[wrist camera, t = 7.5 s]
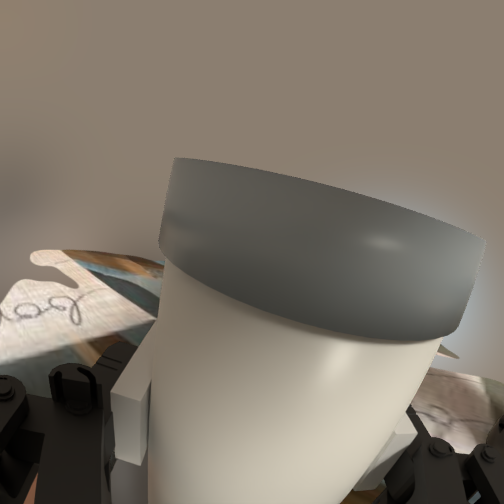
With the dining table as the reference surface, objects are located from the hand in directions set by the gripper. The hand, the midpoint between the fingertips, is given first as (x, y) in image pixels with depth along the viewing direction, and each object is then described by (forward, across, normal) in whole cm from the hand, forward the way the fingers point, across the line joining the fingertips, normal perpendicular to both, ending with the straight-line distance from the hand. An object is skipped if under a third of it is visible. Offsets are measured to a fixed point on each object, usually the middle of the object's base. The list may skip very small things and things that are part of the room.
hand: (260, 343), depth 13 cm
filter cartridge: (-5, 0, -8) cm, 10 cm away
